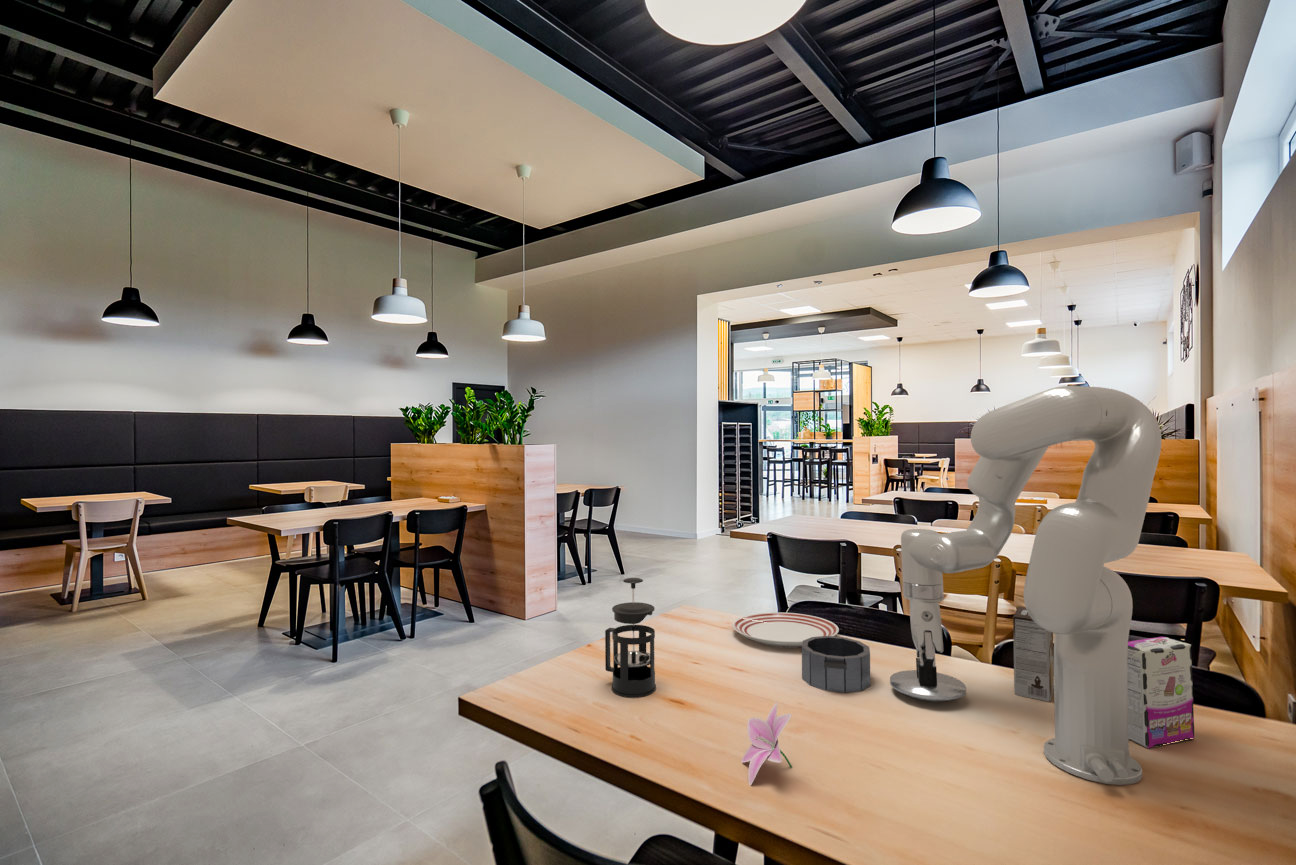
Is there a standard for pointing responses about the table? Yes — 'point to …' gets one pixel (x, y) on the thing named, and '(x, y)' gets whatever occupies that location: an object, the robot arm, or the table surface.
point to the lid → (910, 686)
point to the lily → (764, 741)
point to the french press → (631, 661)
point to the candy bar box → (1159, 691)
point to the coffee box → (1032, 658)
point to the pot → (836, 664)
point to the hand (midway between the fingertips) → (926, 681)
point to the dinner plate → (783, 628)
